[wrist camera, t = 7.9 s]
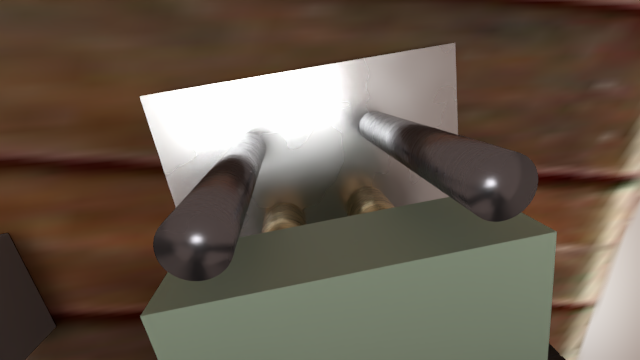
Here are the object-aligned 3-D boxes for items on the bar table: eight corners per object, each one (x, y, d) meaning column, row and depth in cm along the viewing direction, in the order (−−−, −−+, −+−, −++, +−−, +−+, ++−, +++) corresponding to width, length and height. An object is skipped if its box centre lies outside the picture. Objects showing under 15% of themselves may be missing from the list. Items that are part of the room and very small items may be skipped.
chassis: (260, 443, 19) (238, 752, 10) (150, 95, 13) (-145, 118, 4) (457, 399, 19) (596, 655, 11) (442, 45, 13) (739, -28, 5)
